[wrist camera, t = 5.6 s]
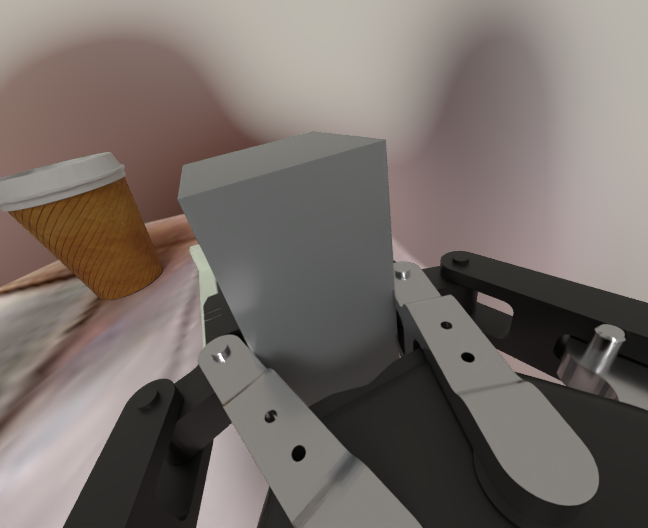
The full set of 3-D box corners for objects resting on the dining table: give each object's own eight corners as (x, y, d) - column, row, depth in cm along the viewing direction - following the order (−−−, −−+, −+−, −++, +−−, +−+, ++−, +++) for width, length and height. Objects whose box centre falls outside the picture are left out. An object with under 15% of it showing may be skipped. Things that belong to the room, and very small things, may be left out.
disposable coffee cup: (158, 250, 35) (101, 151, 29) (193, 268, 29) (130, 149, 23) (71, 293, 30) (-24, 183, 23) (92, 325, 24) (-28, 189, 17)
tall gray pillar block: (403, 424, 12) (385, 139, 6) (311, 478, 11) (177, 199, 5) (353, 352, 16) (311, 131, 10) (281, 388, 15) (183, 164, 9)
